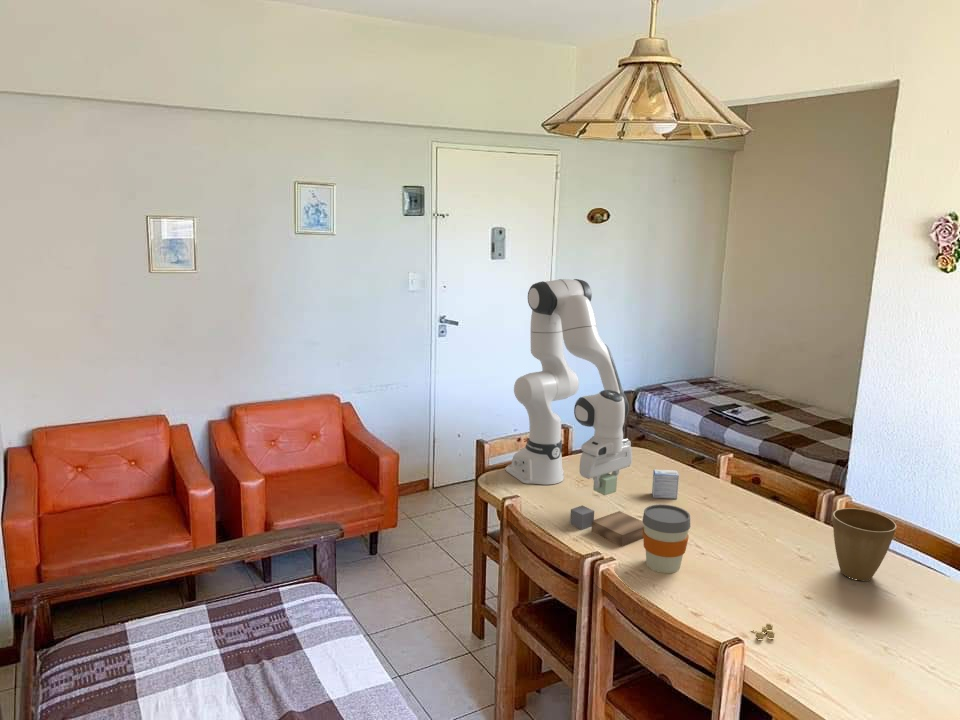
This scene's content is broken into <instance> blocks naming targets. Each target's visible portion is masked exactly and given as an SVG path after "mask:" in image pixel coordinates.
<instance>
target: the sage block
mask: <svg viewBox="0 0 960 720" xmlns="http://www.w3.org/2000/svg"><path fill="white" fill-rule="evenodd" d="M611 474H612V473H607V474H604V475H600V478H599V481H600V482H602V485H601V486H602V487H601V488H595V487H594V485H593V487H592V491H594V492H596V493H599V494H601V495H603V496H607V495H611V494H614V493H616V492H617V486H618V485H617V484H618V476H617V477H616V476H614V475H611Z"/></svg>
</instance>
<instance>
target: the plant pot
mask: <svg viewBox="0 0 960 720" xmlns="http://www.w3.org/2000/svg"><path fill="white" fill-rule="evenodd" d="M832 526H833V528H832V529H833V530H832V531H833V541H834V547H835V555H836V559H837V563H838V566H839V571H840V573H841V572H842V573H843V574H844V575H846V576H848V577H850V578H853V579H857V580H869V579H870V580H871V579H872V578H873V577H874V576H875V574H876V572H877V571H878V569H879V568H880V566H881V564H882V563H883V560H884V559H885V557H886V555H887V553H888V551H889V548H890V546H891V543H892V541H893V538H894V536H895V533H896V529H897V527H898V526H897V524H896V523H895V521H894V520H893V519H892V518H889V517H888V516H885V515H883V514H881V513H878V512H876V511H872V510H867V509H862V508H854V507H852V508H851V507H845V508H838V509H835V511H833V512H832ZM842 573H841V574H842ZM843 574H842V575H843ZM844 575H843V576H844ZM846 576H845V577H846ZM850 578H849V579H850ZM853 579H852V580H853ZM870 580H869V581H870Z"/></svg>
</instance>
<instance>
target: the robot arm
mask: <svg viewBox="0 0 960 720" xmlns="http://www.w3.org/2000/svg"><path fill="white" fill-rule="evenodd" d="M592 294H593V293H592V288H591V287H590V285H589V283H588V282H587V281H586V280H583V279H577V278H574V279H569V278H567V279H566V278H563V279H561V278H560V279H556V280H547V281H539V282H535V283H533V284H532V285H531V286H530V287H529V290H528V292H527V303H528V306H529V307H530V309H531V317H530V318H531V319H530V353H531V355H532V356H533V358H535V359H536V360H538V361H540V364H541V369H542V371H541V370H540V371H535V372H529V373H526V374H523V375H522V376H520V377H518V378H517V379H516V380H515V383H514V385H513V393H514V397H515V399H516V400H517V401H518V402H519V403H520V404H521V405H522V406H523V407H524V409H526V412H527V414H528V421H529V424H528V425H529V428H528V429H529V432H528V433H529V437H527V438H524V439H523V440H524V441H523V442H524V443H526V444H525V447H523V448H521V449H520V450H519V451H517V452H515V453H514V455H513V456H512V459H511V464H508V465H507V466H505V468H504V471H505V470H506V471H505V472H507V473H508V474H509V475H511V476H513V477H514V478H515V479H517V480H518V481H520V482H521V483H523V484H532V485H533V484H536V485H545V486H546V485H554V484H555V485H556V484H559V483H561V482H563V481H564V479H565V476H564V474H565V470H564V469H563V458H562V457H563V456H562V454H563V453H562V449H563V448H562V446H563V442H562V419H561V417H560V416H559V415H558V414H557V412H556V413H555V411H553V410H552V403H553V402H557V401H561V400H566V399H568V398H570V397H573V396H574V395H576V394H577V392H578V390H579V387H580V380H579V377H578V375H577V373H576V372H575V371H574V370H573V369H571V368H570V366H569V365H568V363H567V361H566V357H565V352H564V346H565V348H566V350H567V351H568V352H569V353H570V354H571V355H573V356H575V357H576V358H579V359H582V360H585V361H588V362H590V363H591V364H592V365H594V366H595V367H596V368H597V371H598V373H599V376H600V381H601V383H602V387H603V390H600V391H599V392H598V393H596V394H590V395H589V394H588V395H584V396H580V397H579V398H578V399H577V400H576V401H575V403H574V406H573V407H574V408H573V411H574V412H573V413H574V418H575V420H576V421H577V422H578V423H579V424H580V425H581V426H584V427H588V428H589V427H590V428H591V427H592V428H594V435H593V436H592V437H590V438H589V439H588V440H586V441H585V442H584V443H582V444H581V447H580V448H581V455H580V461H579V474H580V476H581V477H582V478H585V479H588V480H590V479H592V480H593V486H594V487H595V488H601V487H602V486H601V485H602V482H600V481H599V478H600V475H604V474H607V473H609V474H611V475H614V476H616V477H617V478H618V476H619V473H620V470H622V469H626V468H629V467H631V466H632V462H633V452H632V451H633V450H632V442H631V440H630V439H628V438H624V431H623V430H624V429H623V427H624V424H625V420H626V419H627V417H628V414H629V412H630V404H629V399H628V398H627V395H626V394H625V391H624V390H623V389H624V388H623V387H622V383H621V381H620V377H619V374H618V370H617V367H616V363H615V361H614V358H613V355H612V352H611V350H610V348H609V347H608V346H609V345H607V344H605V343H604V342H603V339H602V338H601V336H600V334H599V330H598V325H597V320H596V315H595V312H594V309H593V306H592V303H591V301H592Z"/></svg>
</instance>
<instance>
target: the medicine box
mask: <svg viewBox="0 0 960 720" xmlns="http://www.w3.org/2000/svg"><path fill="white" fill-rule="evenodd" d="M652 473H653V474H652V486H651V487H652V488H651V492H652V493H651V494H652V497H653V499H671V500H672V499H675V500H676V499H678V494H679V481H680V475H679V473H678V471H677V470H672V469H653V472H652Z"/></svg>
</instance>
